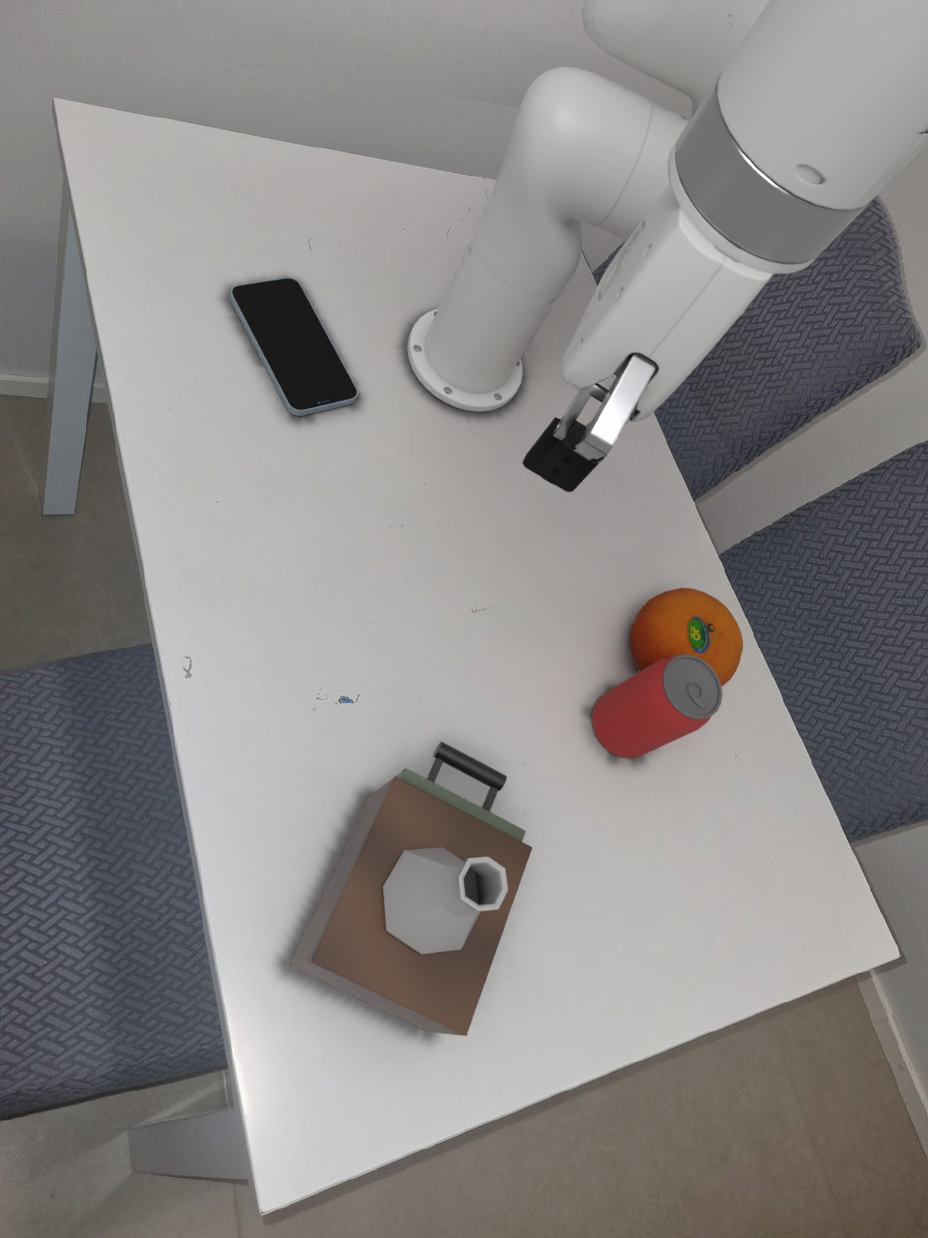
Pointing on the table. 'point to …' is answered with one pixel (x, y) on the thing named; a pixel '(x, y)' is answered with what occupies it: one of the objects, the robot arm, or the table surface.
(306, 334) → the smartphone
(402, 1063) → the table surface
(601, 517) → the table surface
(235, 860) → the table surface
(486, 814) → the drawer
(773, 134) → the robot arm
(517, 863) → the cabinet
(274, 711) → the table surface
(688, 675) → the beer can
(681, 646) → the fruit
